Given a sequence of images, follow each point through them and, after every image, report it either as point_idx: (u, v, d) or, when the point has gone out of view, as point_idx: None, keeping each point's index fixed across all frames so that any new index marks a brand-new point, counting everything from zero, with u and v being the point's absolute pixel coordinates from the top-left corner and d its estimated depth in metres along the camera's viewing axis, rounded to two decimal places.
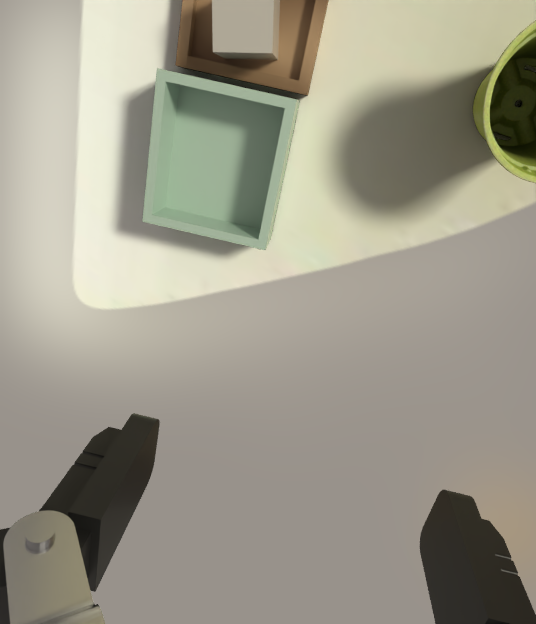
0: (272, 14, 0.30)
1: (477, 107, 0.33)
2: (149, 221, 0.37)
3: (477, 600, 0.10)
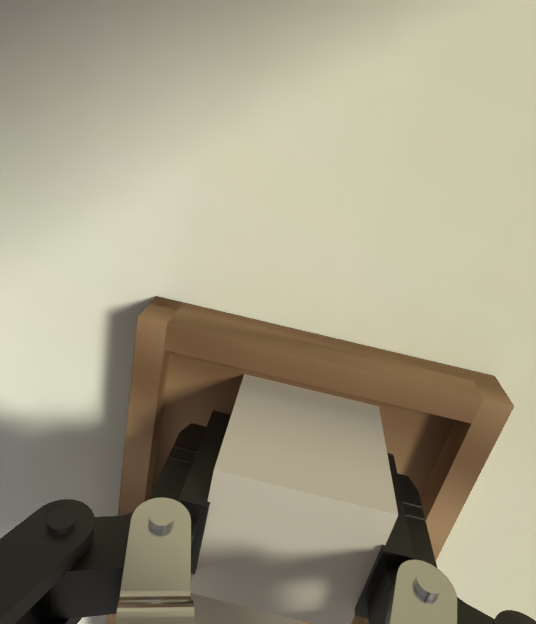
0: None
1: None
2: None
3: None
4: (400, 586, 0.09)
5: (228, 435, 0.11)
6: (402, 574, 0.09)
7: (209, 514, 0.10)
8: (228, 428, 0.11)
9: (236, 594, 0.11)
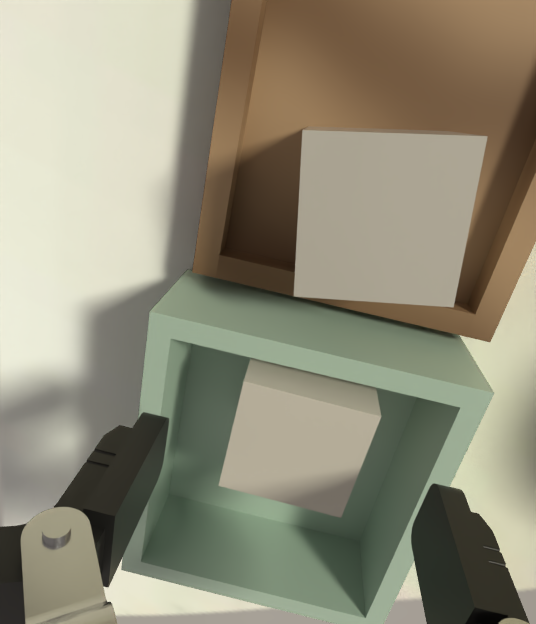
0: (468, 219, 0.11)
1: None
2: (136, 570, 0.18)
3: (465, 590, 0.10)
4: None
5: (252, 361, 0.14)
6: None
7: (238, 418, 0.14)
8: None
9: (255, 486, 0.15)
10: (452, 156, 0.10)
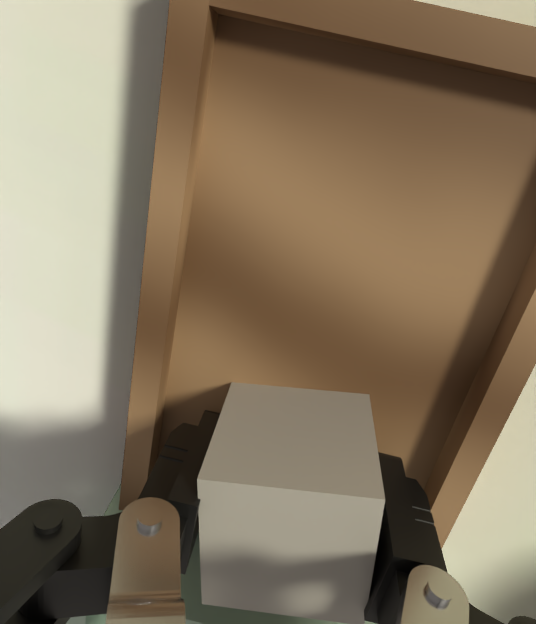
0: (371, 561, 0.10)
1: None
2: None
3: (388, 542, 0.10)
4: (412, 592, 0.09)
5: None
6: (413, 579, 0.09)
7: None
8: None
9: None
10: (351, 512, 0.10)
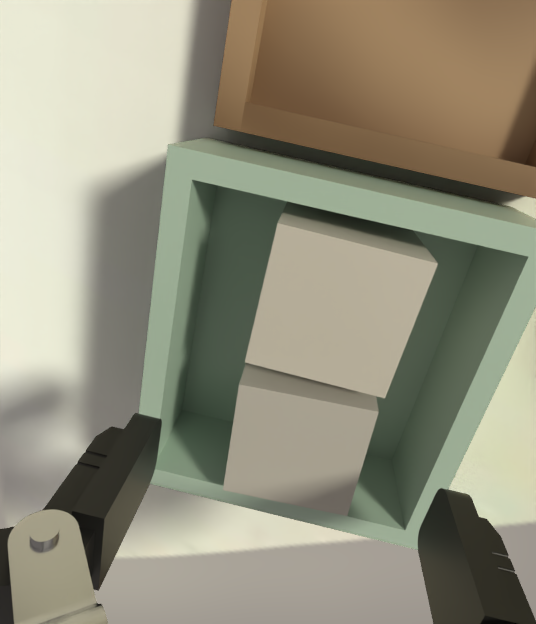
0: (361, 461, 0.14)
1: None
2: None
3: (474, 598, 0.10)
4: None
5: (284, 214, 0.12)
6: None
7: (270, 272, 0.12)
8: (283, 212, 0.13)
9: (287, 361, 0.13)
10: (352, 419, 0.13)
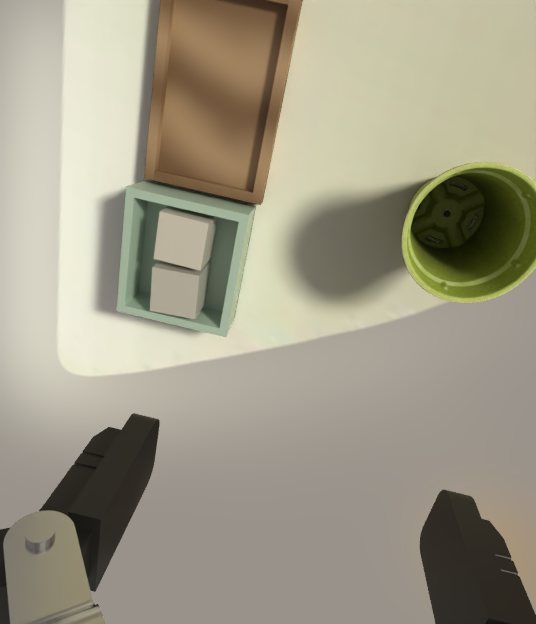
0: (196, 295, 0.39)
1: None
2: (122, 311, 0.41)
3: (477, 600, 0.10)
4: None
5: (165, 208, 0.38)
6: None
7: (158, 227, 0.37)
8: (165, 208, 0.38)
9: (167, 257, 0.38)
10: (191, 279, 0.39)
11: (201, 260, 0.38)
